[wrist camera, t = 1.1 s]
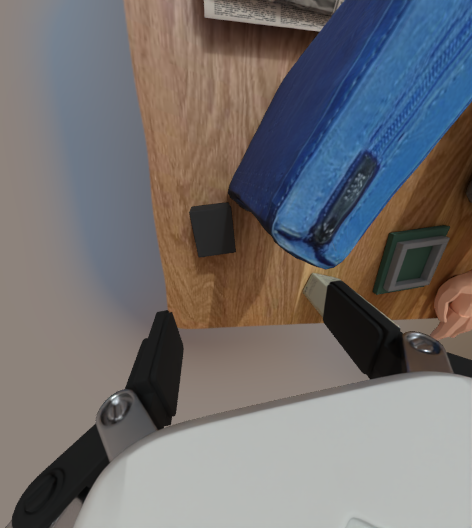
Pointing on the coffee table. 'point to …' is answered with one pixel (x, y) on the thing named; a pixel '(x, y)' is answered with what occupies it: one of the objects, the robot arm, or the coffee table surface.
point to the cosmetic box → (320, 291)
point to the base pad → (410, 259)
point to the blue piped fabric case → (355, 122)
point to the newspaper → (274, 12)
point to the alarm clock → (469, 191)
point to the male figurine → (454, 307)
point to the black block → (213, 229)
